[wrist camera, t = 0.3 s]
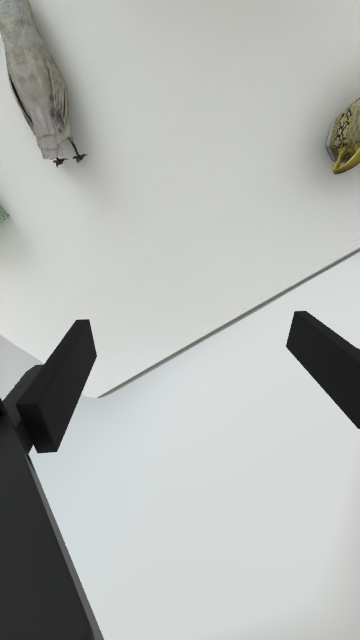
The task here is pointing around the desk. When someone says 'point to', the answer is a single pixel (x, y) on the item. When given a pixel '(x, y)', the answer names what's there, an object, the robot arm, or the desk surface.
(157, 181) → the desk surface
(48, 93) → the decorative bird
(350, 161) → the ceramic cup
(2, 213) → the green block
